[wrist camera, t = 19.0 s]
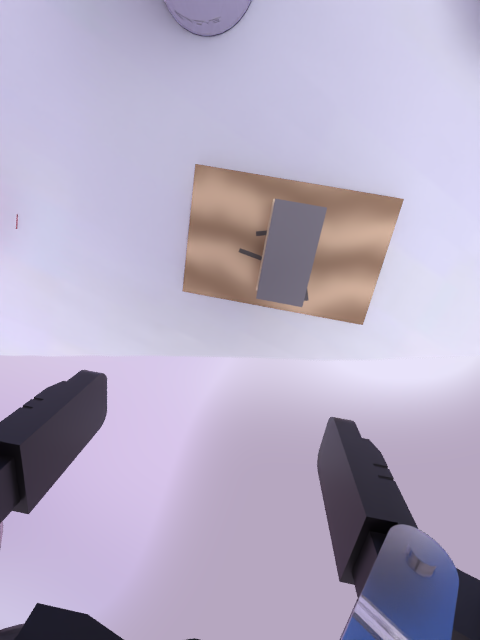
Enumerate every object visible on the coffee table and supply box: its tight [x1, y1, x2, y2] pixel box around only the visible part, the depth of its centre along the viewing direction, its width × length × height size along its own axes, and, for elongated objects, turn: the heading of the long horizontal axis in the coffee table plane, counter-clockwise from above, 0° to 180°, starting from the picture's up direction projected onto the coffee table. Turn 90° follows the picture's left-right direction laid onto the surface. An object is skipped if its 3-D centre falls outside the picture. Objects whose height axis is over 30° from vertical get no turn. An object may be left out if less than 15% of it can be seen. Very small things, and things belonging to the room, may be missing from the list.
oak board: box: [183, 164, 404, 325], centre depth 33 cm, size 14×22×2 cm, turn 81°
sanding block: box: [256, 199, 327, 307], centre depth 29 cm, size 10×5×6 cm, turn 170°
